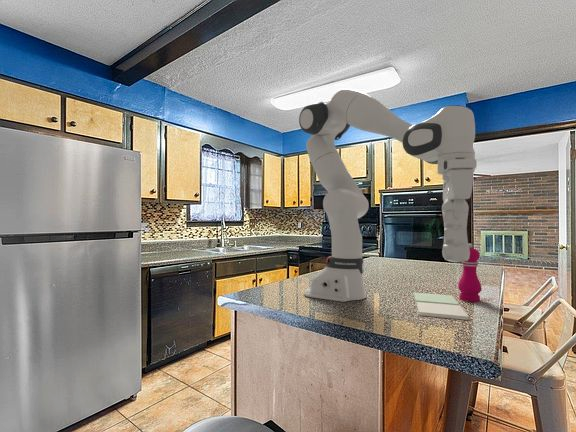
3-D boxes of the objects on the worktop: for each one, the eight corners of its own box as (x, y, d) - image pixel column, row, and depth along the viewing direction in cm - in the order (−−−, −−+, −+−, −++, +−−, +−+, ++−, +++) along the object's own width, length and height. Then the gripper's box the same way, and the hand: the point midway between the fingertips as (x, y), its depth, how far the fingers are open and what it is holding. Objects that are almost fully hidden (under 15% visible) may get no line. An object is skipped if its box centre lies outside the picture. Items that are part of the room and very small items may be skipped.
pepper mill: (485, 303, 107) (485, 244, 107) (462, 301, 108) (462, 243, 109) (476, 297, 114) (477, 242, 114) (455, 296, 116) (455, 242, 116)
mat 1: (415, 303, 106) (415, 300, 106) (413, 295, 117) (413, 292, 117) (459, 307, 102) (458, 303, 102) (452, 298, 113) (452, 295, 113)
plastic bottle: (458, 264, 80) (457, 186, 80) (436, 261, 86) (435, 188, 86) (476, 263, 82) (475, 186, 82) (453, 260, 88) (452, 189, 89)
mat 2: (419, 315, 92) (419, 311, 92) (416, 304, 104) (416, 301, 104) (468, 320, 88) (468, 316, 88) (460, 308, 100) (460, 305, 100)
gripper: (437, 172, 95) (437, 217, 95) (448, 160, 76) (447, 217, 76) (461, 171, 93) (460, 218, 93) (478, 159, 74) (477, 218, 74)
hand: (454, 217), depth 84 cm, fingers closed on plastic bottle, 6 cm apart
